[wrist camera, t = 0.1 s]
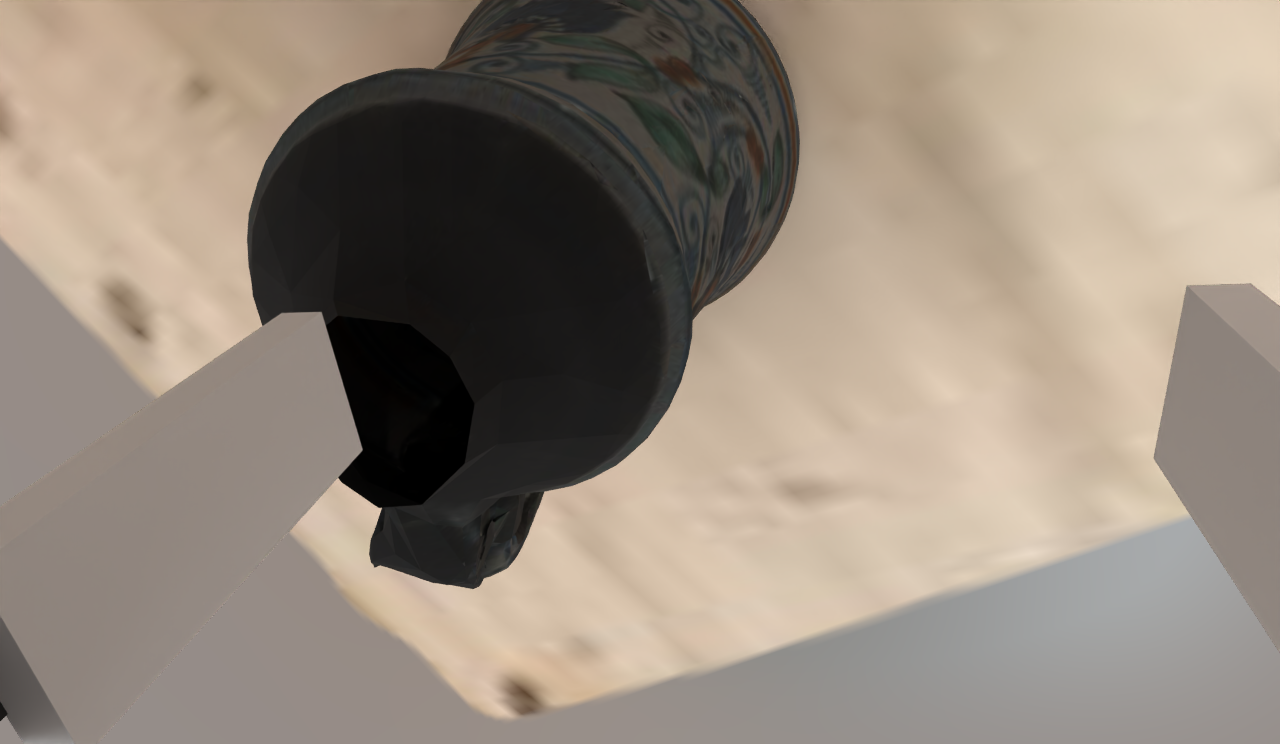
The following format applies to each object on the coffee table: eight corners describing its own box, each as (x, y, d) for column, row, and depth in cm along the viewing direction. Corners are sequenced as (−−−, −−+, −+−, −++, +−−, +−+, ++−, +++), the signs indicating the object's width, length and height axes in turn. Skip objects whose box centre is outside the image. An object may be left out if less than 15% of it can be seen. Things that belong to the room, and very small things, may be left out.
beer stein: (755, -109, 34) (640, -202, 12) (842, 317, 42) (867, 728, 20) (409, 11, 39) (-115, 96, 17) (544, 373, 47) (300, 752, 25)
